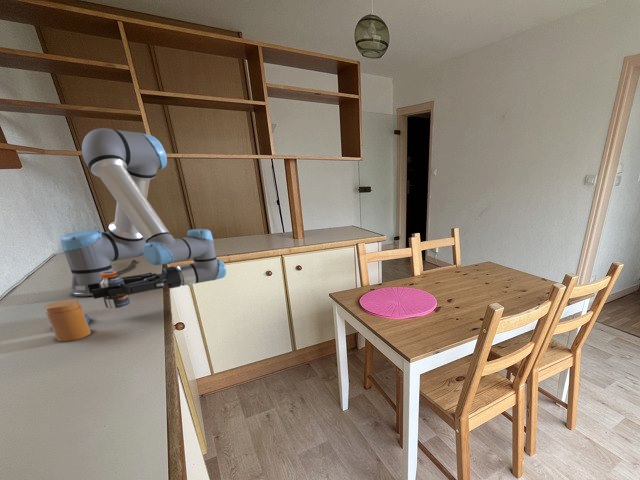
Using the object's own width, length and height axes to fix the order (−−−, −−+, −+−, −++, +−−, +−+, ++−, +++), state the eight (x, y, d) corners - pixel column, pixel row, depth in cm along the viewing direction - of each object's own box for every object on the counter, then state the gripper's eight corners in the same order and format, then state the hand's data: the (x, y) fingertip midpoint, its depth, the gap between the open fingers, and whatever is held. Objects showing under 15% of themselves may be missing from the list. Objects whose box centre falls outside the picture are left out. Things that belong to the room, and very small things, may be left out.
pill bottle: (116, 310, 98) (105, 275, 94) (101, 308, 99) (89, 274, 95) (135, 303, 103) (125, 270, 99) (120, 301, 104) (110, 269, 100)
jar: (62, 333, 92) (49, 301, 88) (94, 328, 95) (83, 297, 91) (52, 343, 86) (38, 310, 82) (86, 338, 89) (74, 305, 86)
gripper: (190, 292, 108) (100, 311, 91) (171, 280, 119) (89, 295, 102) (185, 271, 105) (92, 287, 88) (167, 261, 116) (81, 273, 100)
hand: (91, 291), depth 95 cm, fingers closed on pill bottle, 6 cm apart
